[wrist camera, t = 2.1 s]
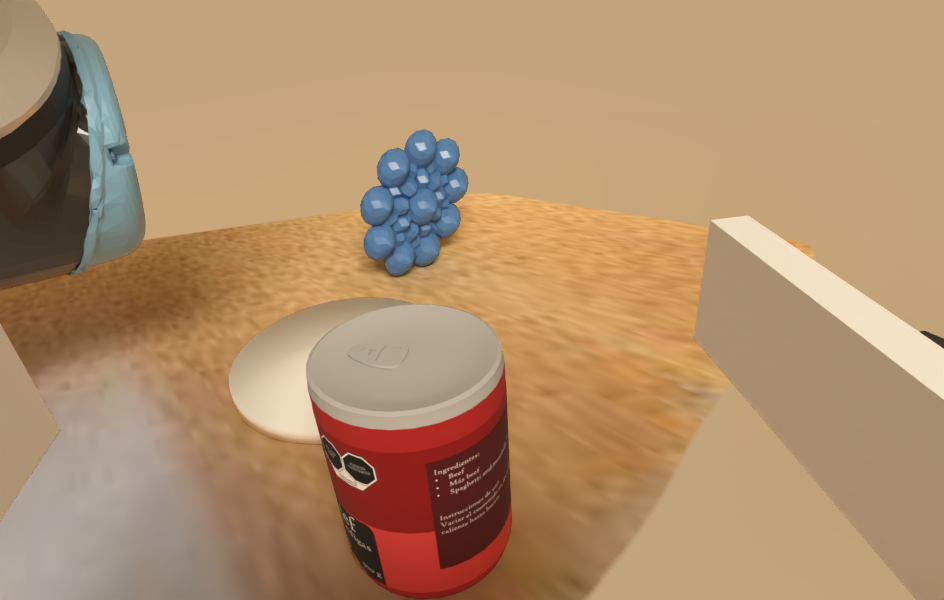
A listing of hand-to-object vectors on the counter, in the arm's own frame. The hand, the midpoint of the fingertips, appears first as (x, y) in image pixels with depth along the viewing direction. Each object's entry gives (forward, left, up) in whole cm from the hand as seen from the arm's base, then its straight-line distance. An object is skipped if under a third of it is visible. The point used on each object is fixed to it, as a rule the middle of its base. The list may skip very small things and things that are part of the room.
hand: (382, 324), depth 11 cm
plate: (-16, +20, -18) cm, 31 cm away
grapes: (-17, +36, -19) cm, 44 cm away
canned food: (-5, +9, -19) cm, 21 cm away
